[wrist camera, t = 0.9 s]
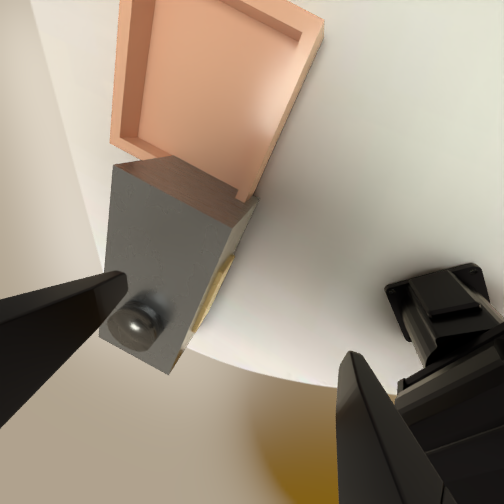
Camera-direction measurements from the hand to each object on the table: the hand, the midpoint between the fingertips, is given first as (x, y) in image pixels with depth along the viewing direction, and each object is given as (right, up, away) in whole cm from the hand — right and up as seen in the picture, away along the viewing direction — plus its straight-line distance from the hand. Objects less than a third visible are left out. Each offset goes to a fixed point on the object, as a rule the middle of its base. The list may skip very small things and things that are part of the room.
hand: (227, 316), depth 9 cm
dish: (-2, +14, +8) cm, 16 cm away
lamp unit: (-6, +2, +15) cm, 16 cm away
